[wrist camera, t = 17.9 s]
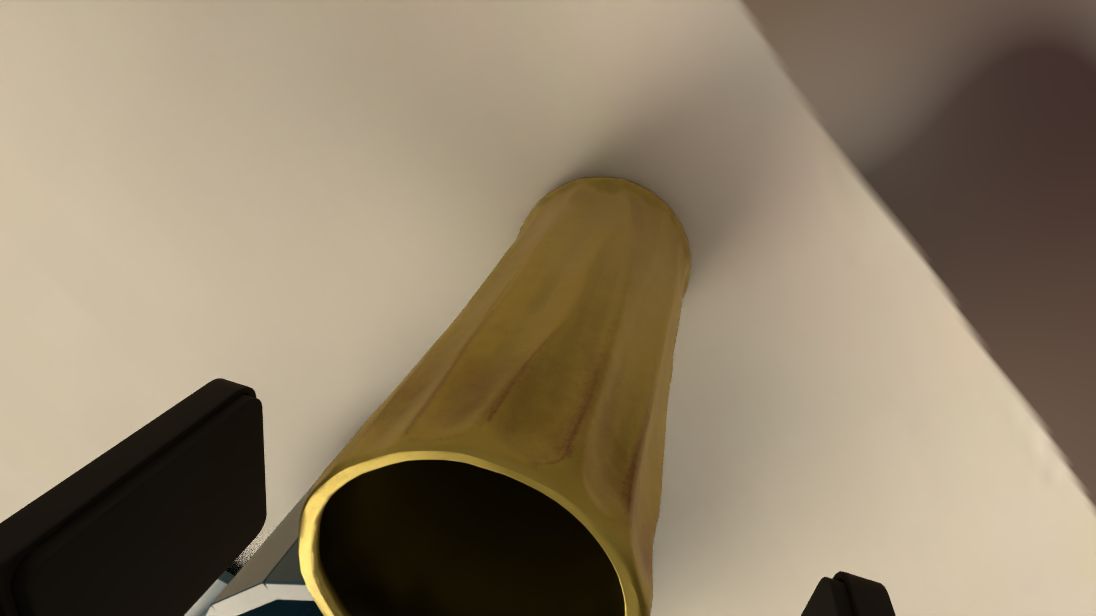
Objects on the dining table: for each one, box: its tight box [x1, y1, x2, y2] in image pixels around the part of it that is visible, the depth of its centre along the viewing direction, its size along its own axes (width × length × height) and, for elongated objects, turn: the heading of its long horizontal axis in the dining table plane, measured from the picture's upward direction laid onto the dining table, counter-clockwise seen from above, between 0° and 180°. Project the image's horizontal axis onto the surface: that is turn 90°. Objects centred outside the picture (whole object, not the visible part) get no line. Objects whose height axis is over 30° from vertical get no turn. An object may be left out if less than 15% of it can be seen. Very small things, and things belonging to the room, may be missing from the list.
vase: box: [298, 177, 691, 616], centre depth 15 cm, size 6×6×14 cm
